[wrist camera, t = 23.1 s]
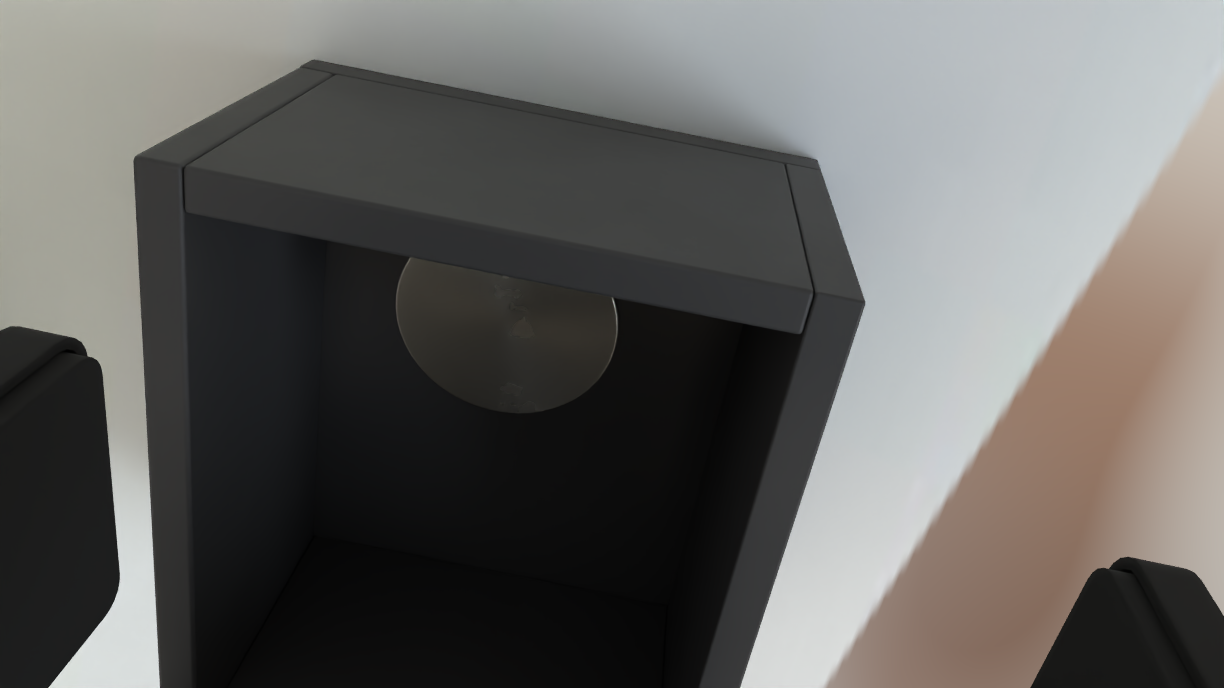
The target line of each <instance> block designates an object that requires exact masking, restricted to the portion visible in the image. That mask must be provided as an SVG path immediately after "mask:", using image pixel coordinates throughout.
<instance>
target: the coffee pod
mask: <svg viewBox="0 0 1224 688" xmlns="http://www.w3.org/2000/svg"><path fill="white" fill-rule="evenodd" d="M395 309H396V318H397V323H398V327H399V331H400V334H401V336H402V339H403V341H404V344H405V346H406V347H407V349H408V351H409V353H410V355H411V356H412V358H413V359H414V360H415V362H416V363H417V365H418V366H419V367H420V368H421V369H422V370H423V371H424V373H425V374H426V375H427V376H428V377H429V378H430V379H432V380H433V381H434V382H435V383H436V384H437V385H438V386H440V387H441V388H443V389H444V390H446V391H447V392H449V393H450V394H452V395H454V396H455V397H457V398H459V399H461V400H463V401H465V402H468V403H470V404H472V405H475V406H478V407H481V408H485V409H488V410H493V411H498V412H504V413H533V412H540V411H545V410H549V409H553V408H556V407H559V406H561V405H564V404H566V403H569V402H570V401H572V400H574V399H576V398H577V397H579V396H581V395H582V394H583V393H585V392H586V391H587V390H589V389H590V388H591V387H592V386H593V385H594V384H595V383H596V382H597V381H598V380H599V379H600V377H601V376H602V374H603V373H604V372H605V370H606V369H607V367H608V365H609V363H610V361H611V359H612V357H613V354H614V351H615V348H616V344H617V339H618V333H619V321H620V315H619V306H618V301H617V298H613V297H608V296H603V295H598V294H593V293H588V292H583V291H578V290H573V289H568V288H563V287H558V286H552V285H547V284H542V283H537V282H532V281H527V280H522V279H517V278H512V277H507V276H502V275H497V274H492V273H487V272H482V271H477V270H472V269H467V268H462V267H457V266H452V265H447V264H442V263H437V262H432V261H427V260H422V259H417V258H412V257H409V258H408V260H407V262H406V264H405V266H404V267H403V269H402V272H401V275H400V277H399V280H398V284H397V290H396V299H395Z"/></svg>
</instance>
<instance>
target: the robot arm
mask: <svg viewBox="0 0 1224 688" xmlns="http://www.w3.org/2000/svg"><path fill="white" fill-rule="evenodd" d="M119 580H120V572H119V560H118V549H117V537H116V525H115V514H114V502H113V491H112V479H111V468H110V456H109V444H108V433H107V421H106V410H105V398H104V386H103V375H102V370H101V366H100V364H99V363H98V361H97V360H95V359H94V358H92V357H88V356H87V352H86V349H85V347H84V346H83V344H82V342H80V341H79V340H77V339H75V338H72V337H67V336H62V335H58V334H53V333H48V332H43V331H38V330H33V329H29V328H24V327H15V326H10V327H8V328H6V329H3V330H1V331H0V688H48V687H49V686H50V685H51V684H52V682H53V681H54V680H55V679H56V677H57V676H58V675H59V674H60V672H61V671H62V670H63V669H64V667H65V666H66V665H67V664H68V662H69V661H70V660H71V659H72V657H73V656H74V655H75V654H76V652H77V651H78V650H79V649H80V647H81V646H82V645H83V644H84V642H85V641H86V640H87V639H88V637H89V636H90V635H91V634H92V632H93V631H94V630H95V629H96V627H97V626H98V625H99V624H100V622H101V621H102V620H103V619H104V617H105V616H106V614H107V613H108V611H109V610H110V608H111V606H112V604H113V602H114V600H115V597H116V594H117V591H118V587H119ZM1031 688H1224V616H1223V614H1222V613H1221V611H1220V609H1219V608H1218V606H1217V604H1216V603H1215V601H1214V600H1213V599H1212V596H1211V595H1210V593H1209V592H1208V590H1207V588H1206V587H1205V585H1204V584H1203V582H1202V581H1201V580H1200V578H1199V577H1198V576H1197V575H1196V574H1195V573H1194V572H1192V571H1190V570H1188V569H1184V568H1179V567H1175V566H1170V565H1164V564H1160V563H1155V562H1150V561H1146V560H1141V559H1136V558H1131V557H1124V558H1120V559H1119V560H1117V561H1116V562H1114V563H1113V564H1112V566H1111V567H1110V568H1109V569H1106V568H1100V569H1097V570H1095V571H1094V572H1093V573H1092V574H1091V576H1090V577H1089V578H1088V580H1087V582H1086V584H1085V586H1084V587H1083V589H1082V591H1081V593H1080V595H1079V597H1078V599H1077V601H1076V602H1075V604H1074V606H1073V608H1072V610H1071V612H1070V614H1069V616H1068V618H1067V619H1066V621H1065V623H1064V625H1063V627H1062V629H1061V631H1060V633H1059V635H1058V637H1057V639H1056V640H1055V642H1054V644H1053V646H1052V648H1051V650H1050V652H1049V654H1048V655H1047V657H1046V659H1045V661H1044V663H1043V665H1042V667H1041V669H1040V671H1039V672H1038V674H1037V676H1036V678H1035V680H1034V682H1033V684H1032V686H1031Z"/></svg>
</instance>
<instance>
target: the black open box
mask: <svg viewBox="0 0 1224 688" xmlns="http://www.w3.org/2000/svg"><path fill="white" fill-rule="evenodd" d="M134 180H135V200H136V220H137V239H138V259H139V279H140V299H141V319H142V338H143V358H144V378H145V398H146V418H147V438H148V457H149V477H150V497H151V517H152V537H153V556H154V576H155V596H156V616H157V636H158V655H159V675H160V688H740V686H741V683H742V680H743V677H744V674H745V671H746V667H747V664H748V661H749V658H750V655H751V652H752V649H753V646H754V643H755V640H756V637H757V634H758V631H759V628H760V625H761V622H762V619H763V615H764V612H765V609H766V606H767V603H768V600H769V597H770V594H771V591H772V588H773V585H774V582H775V579H776V576H777V573H778V570H779V566H780V563H781V560H782V557H783V554H784V551H785V548H786V545H787V542H788V539H789V536H790V533H791V530H792V527H793V524H794V521H795V518H796V514H797V511H798V508H799V505H800V502H801V499H802V496H803V493H804V490H805V487H806V484H807V481H808V478H809V475H810V472H811V469H812V465H813V462H814V459H815V456H816V453H817V450H818V447H819V444H820V441H821V438H822V435H823V432H824V429H825V426H826V423H827V420H828V417H829V413H830V410H831V407H832V404H833V401H834V398H835V395H836V392H837V389H838V386H839V383H840V380H841V377H842V374H843V371H844V368H845V364H846V361H847V358H848V355H849V352H850V349H851V346H852V343H853V340H854V337H855V334H856V331H857V328H858V325H859V322H860V319H861V316H862V312H863V309H864V306H865V300H864V297H863V294H862V291H861V288H860V285H859V282H858V279H857V276H856V273H855V270H854V267H853V264H852V261H851V258H850V256H849V253H848V250H847V247H846V244H845V241H844V238H843V235H842V232H841V229H840V226H839V223H838V220H837V217H836V214H835V211H834V208H833V205H832V202H831V199H830V196H829V193H828V190H827V187H826V184H825V181H824V178H823V176H822V173H821V170H820V167H819V164H818V161H817V160H814V159H809V158H804V157H799V156H794V155H789V154H784V153H779V152H774V151H769V150H764V149H759V148H754V147H749V146H744V145H739V144H734V143H729V142H724V141H719V140H714V139H709V138H704V137H699V136H694V135H689V134H684V133H679V132H674V131H669V130H664V129H659V128H653V127H648V126H643V125H638V124H633V123H628V122H623V121H618V120H613V119H608V118H603V117H598V116H593V115H588V114H583V113H578V112H573V111H568V110H563V109H558V108H553V107H548V106H543V105H538V104H533V103H528V102H523V101H518V100H513V99H508V98H503V97H498V96H493V95H488V94H483V93H478V92H473V91H468V90H463V89H458V88H453V87H448V86H443V85H438V84H433V83H427V82H422V81H417V80H412V79H407V78H402V77H397V76H392V75H387V74H382V73H377V72H372V71H367V70H362V69H357V68H352V67H347V66H342V65H337V64H332V63H327V62H322V61H317V60H311V61H310V62H308V63H306V64H304V65H302V66H300V68H298V69H296V70H295V71H293V72H291V73H289V74H287V75H285V76H283V77H282V78H280V79H278V80H276V81H274V82H272V83H270V84H269V85H267V86H265V87H263V88H261V89H259V90H257V91H256V92H254V93H252V94H250V95H248V96H246V97H244V98H243V99H241V100H239V101H237V102H235V103H233V104H231V105H230V106H228V107H226V108H224V109H222V110H220V111H218V112H217V113H215V114H213V115H211V116H209V117H207V118H205V119H203V120H202V121H200V122H198V123H196V124H194V125H192V126H190V127H189V128H187V129H185V130H183V131H181V132H179V133H177V134H176V135H174V136H172V137H170V138H168V139H166V140H164V141H163V142H161V143H159V144H157V145H155V146H153V147H151V148H150V149H148V150H146V151H144V152H142V153H140V154H138V155H137V156H135V158H134ZM409 257H412V258H417V259H422V260H427V261H432V262H437V263H442V264H447V265H452V266H457V267H462V268H467V269H472V270H477V271H482V272H487V273H492V274H497V275H502V276H507V277H512V278H517V279H522V280H527V281H532V282H537V283H542V284H547V285H552V286H558V287H563V288H568V289H573V290H578V291H583V292H588V293H593V294H598V295H603V296H608V297H613V298H617V301H618V306H619V315H620V321H619V333H618V339H617V344H616V348H615V351H614V354H613V357H612V359H611V361H610V363H609V365H608V367H607V369H606V370H605V372H604V373H603V374H602V376H601V377H600V379H599V380H598V381H597V382H596V383H595V384H594V385H593V386H592V387H591V388H590V389H589V390H587V391H586V392H585V393H583V394H582V395H581V396H579V397H577V398H576V399H574V400H572V401H570V402H569V403H566V404H564V405H561V406H559V407H556V408H553V409H549V410H545V411H540V412H533V413H504V412H498V411H493V410H488V409H485V408H481V407H478V406H475V405H472V404H470V403H468V402H465V401H463V400H461V399H459V398H457V397H455V396H454V395H452V394H450V393H449V392H447V391H446V390H444V389H443V388H441V387H440V386H438V385H437V384H436V383H435V382H434V381H433V380H432V379H430V378H429V377H428V376H427V375H426V374H425V373H424V371H423V370H422V369H421V368H420V367H419V366H418V365H417V363H416V362H415V360H414V359H413V358H412V356H411V355H410V353H409V351H408V349H407V347H406V346H405V344H404V341H403V339H402V336H401V334H400V331H399V327H398V323H397V318H396V309H395V299H396V290H397V284H398V280H399V277H400V275H401V272H402V269H403V267H404V266H405V264H406V262H407V260H408V258H409Z"/></svg>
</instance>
